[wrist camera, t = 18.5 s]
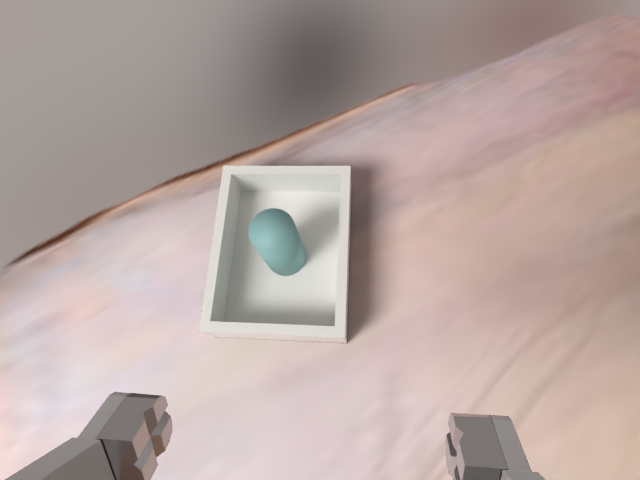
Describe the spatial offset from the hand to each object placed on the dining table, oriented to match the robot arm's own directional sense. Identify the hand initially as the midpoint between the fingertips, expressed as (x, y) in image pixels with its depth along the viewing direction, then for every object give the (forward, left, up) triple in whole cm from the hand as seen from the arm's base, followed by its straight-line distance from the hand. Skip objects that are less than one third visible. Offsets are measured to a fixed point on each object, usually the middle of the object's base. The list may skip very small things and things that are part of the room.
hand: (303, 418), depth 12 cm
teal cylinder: (+7, -14, -30) cm, 34 cm away
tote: (+7, -14, -31) cm, 35 cm away
